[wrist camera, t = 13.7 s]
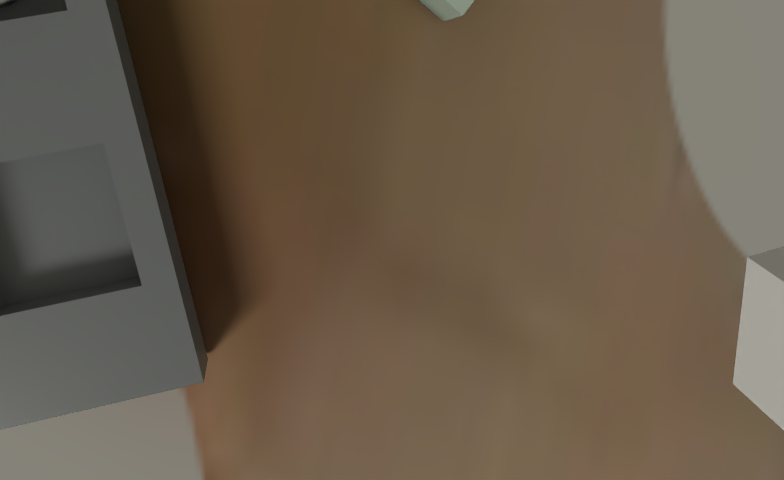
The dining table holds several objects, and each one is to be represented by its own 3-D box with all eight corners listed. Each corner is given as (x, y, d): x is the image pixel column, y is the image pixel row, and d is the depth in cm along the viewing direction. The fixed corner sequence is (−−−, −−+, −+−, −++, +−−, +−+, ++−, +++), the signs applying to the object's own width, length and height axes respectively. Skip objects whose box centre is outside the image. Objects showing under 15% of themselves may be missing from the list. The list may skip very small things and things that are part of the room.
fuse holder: (207, 358, 31) (203, 382, 29) (11, 403, 30) (-10, 431, 28) (46, -280, 26) (23, -317, 23) (-203, -251, 25) (-253, -287, 22)
